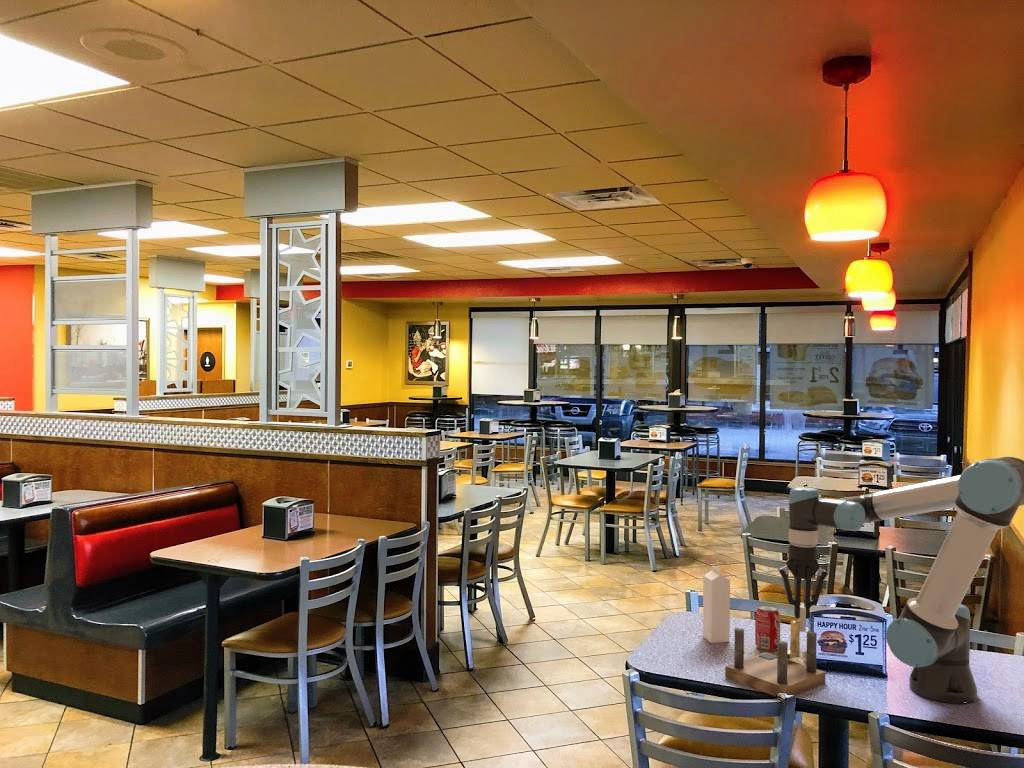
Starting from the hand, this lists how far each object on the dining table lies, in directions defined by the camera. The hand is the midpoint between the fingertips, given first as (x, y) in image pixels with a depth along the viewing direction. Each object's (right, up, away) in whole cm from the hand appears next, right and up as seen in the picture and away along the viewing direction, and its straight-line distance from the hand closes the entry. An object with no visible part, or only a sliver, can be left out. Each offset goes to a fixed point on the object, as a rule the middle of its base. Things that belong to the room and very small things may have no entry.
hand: (801, 629), depth 215 cm
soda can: (-4, -11, +16) cm, 20 cm away
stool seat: (-10, -11, -9) cm, 17 cm away
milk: (-17, -11, +24) cm, 31 cm away
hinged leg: (-3, -7, -1) cm, 8 cm away
